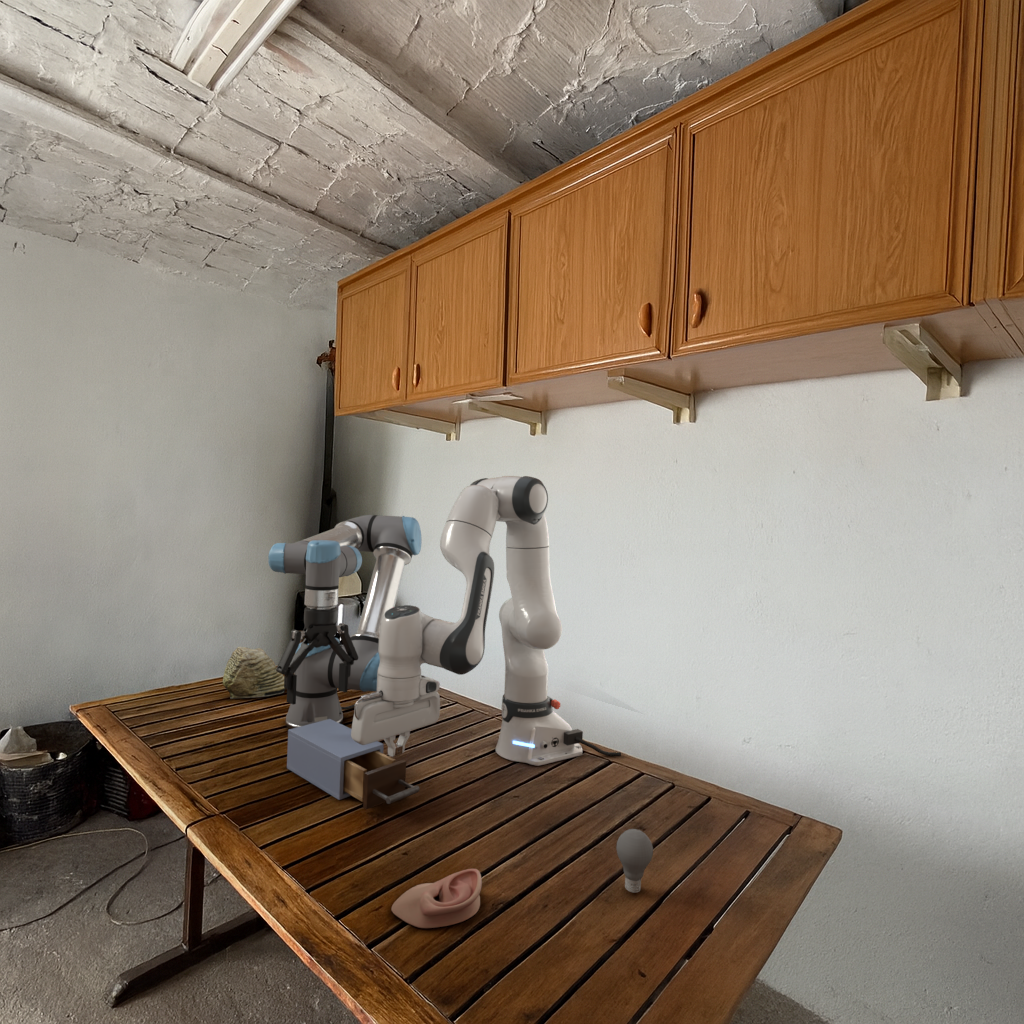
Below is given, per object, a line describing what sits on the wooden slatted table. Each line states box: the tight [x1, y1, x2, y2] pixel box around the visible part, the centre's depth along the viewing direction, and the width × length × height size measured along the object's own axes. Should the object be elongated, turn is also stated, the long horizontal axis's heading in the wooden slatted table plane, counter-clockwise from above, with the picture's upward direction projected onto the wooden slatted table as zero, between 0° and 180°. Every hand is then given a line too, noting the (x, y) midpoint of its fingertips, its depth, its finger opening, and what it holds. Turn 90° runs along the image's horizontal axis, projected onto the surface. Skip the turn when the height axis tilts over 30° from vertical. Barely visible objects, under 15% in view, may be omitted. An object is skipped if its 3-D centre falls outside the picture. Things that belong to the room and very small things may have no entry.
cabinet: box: [286, 719, 385, 801], centre depth 144 cm, size 21×11×9 cm, turn 49°
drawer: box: [343, 750, 420, 810], centre depth 136 cm, size 26×10×7 cm, turn 49°
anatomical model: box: [391, 868, 483, 929], centre depth 99 cm, size 13×4×12 cm
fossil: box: [222, 646, 287, 699], centre depth 198 cm, size 9×18×15 cm, turn 132°
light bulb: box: [615, 828, 654, 894], centre depth 106 cm, size 6×6×10 cm
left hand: (317, 696), depth 149 cm, fingers open, 13 cm apart
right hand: (396, 754), depth 129 cm, fingers closed
